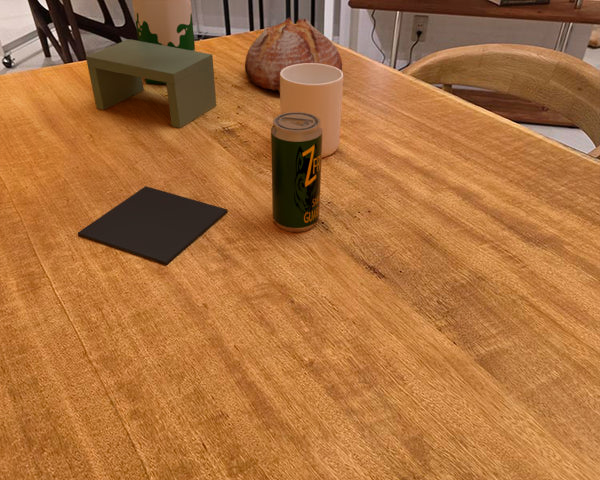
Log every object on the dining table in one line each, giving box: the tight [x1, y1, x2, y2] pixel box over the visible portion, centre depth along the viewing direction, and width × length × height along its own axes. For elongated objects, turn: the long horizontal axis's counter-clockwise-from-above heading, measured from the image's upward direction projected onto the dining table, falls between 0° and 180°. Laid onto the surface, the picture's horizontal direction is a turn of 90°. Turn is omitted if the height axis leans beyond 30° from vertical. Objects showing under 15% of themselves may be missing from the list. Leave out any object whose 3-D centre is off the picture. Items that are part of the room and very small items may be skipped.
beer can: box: [270, 112, 322, 233], centre depth 64 cm, size 5×5×12 cm
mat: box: [77, 185, 229, 266], centre depth 67 cm, size 12×12×1 cm
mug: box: [279, 63, 344, 159], centre depth 82 cm, size 12×8×10 cm
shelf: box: [85, 38, 217, 129], centre depth 91 cm, size 16×10×8 cm, turn 63°
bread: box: [244, 16, 343, 94], centre depth 102 cm, size 16×20×10 cm
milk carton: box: [131, 0, 196, 86], centre depth 98 cm, size 9×9×20 cm
